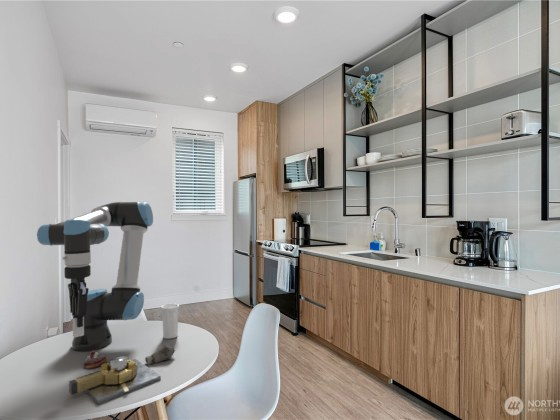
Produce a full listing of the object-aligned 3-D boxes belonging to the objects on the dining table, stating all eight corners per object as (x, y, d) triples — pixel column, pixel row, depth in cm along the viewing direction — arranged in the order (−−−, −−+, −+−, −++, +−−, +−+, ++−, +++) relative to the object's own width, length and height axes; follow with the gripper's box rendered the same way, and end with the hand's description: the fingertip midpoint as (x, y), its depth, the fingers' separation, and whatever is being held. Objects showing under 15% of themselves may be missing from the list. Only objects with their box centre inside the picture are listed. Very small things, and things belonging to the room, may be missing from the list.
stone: (145, 369, 125) (159, 356, 124) (141, 355, 128) (154, 343, 126) (165, 365, 134) (178, 354, 132) (161, 353, 136) (174, 341, 135)
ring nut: (128, 365, 123) (128, 353, 123) (141, 375, 115) (141, 363, 115) (65, 387, 108) (64, 374, 108) (76, 400, 101) (75, 386, 101)
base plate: (76, 381, 115) (76, 360, 115) (135, 361, 129) (134, 343, 129) (99, 406, 100) (99, 382, 100) (162, 380, 115) (162, 359, 115)
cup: (176, 340, 150) (176, 308, 150) (158, 340, 150) (157, 308, 150) (181, 333, 158) (181, 303, 158) (164, 333, 158) (164, 303, 158)
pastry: (85, 362, 130) (85, 349, 130) (107, 358, 133) (107, 346, 133) (82, 371, 122) (81, 357, 122) (105, 367, 125) (105, 354, 125)
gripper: (58, 264, 115) (59, 333, 115) (71, 269, 105) (72, 344, 105) (83, 261, 120) (84, 327, 120) (97, 266, 111) (98, 337, 111)
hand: (78, 335), depth 113 cm, fingers closed
